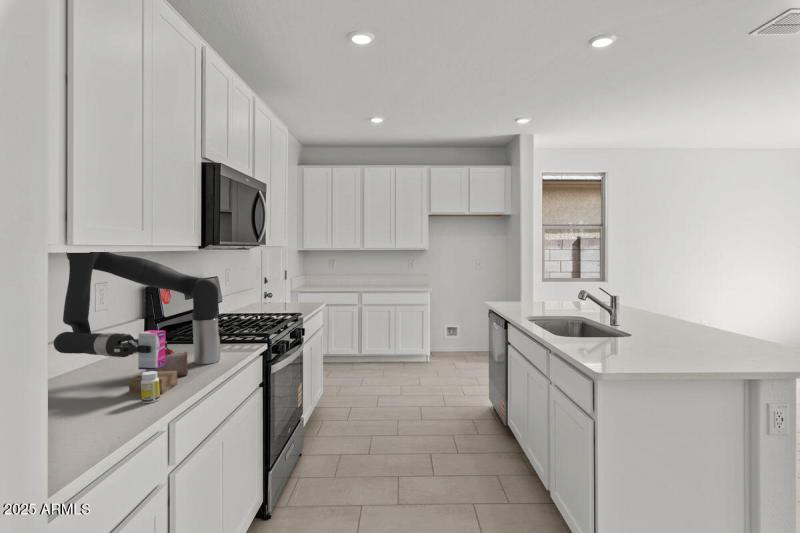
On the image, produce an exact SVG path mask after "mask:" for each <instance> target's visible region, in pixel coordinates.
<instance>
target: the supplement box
mask: <svg viewBox="0 0 800 533" xmlns="http://www.w3.org/2000/svg"><path fill="white" fill-rule="evenodd" d="M138 339H139V344H138V345H139V346H140V345H145V346H151V352H150V353H138V354H137V355H138V356H137V357H138V363H137V364H138V366H137V367H138V368H137V369H138V370H146V369H157V368H159V367H161V366H164V365H165V349H166V348H165V341H166V330H151V329H149V330H146V331H145V330H144V331H142V332H139V333H138Z"/></svg>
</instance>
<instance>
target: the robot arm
mask: <svg viewBox="0 0 800 533" xmlns="http://www.w3.org/2000/svg"><path fill="white" fill-rule="evenodd" d="M66 257H67V260H68V265H69V266H68V267H69V271H68V272H69V273H68V283H67V287H66V288H67V289H66V294H65V300H64V306H63V315H62V322H63V323H64V324H65V325H67V326H69V327H71V329H72V331H64V332H60V333H59V334H58V335H57V336H56V337H55V338H54V340H53V347H54V349H55V351H57V352H58V353H61V354H86V355H93V356H94V355H95V356H104V357H110V358H111V357H113V358H115V357H116V358H126V357H129V356H131V355H133V354H137V355H138V353H150V352H151V346H145V345H140V346H139V345H138V344H139V338H134V337H133V336H132V334H130V333H120V332H119V333H117V332H108V333H101V332H97V333H96V332H94V333H92V332H91V331H92V330H91V325H90V322H89V321H90V320H89V316H90V315H89V314H90V307H91V306H90V305H91V284H92V275H93V270H95V271H100V272H104V273H107V274H111V275H114V276H117V277H119V278H123V279H125V280H129V281H130V282H131V281H132V282H134V283H137V284H140V285H144V286H148V287H152V288H156V289H159V290H160V289H161V290H168V291H174V292H178V293H180V294H183V295H185V296H188V297H190V298H192V307H193V308H192V335H193V338H192V340H193V360H194V361H193V363H194V364H195V365H211V364H214V363H218V362H220V360H221V338H220V337H221V336H220V335H219V306H220V305H219V289H218V285H217V283H216V282H215V281H213V280H211V279H209V278H202V277H199V276H198V277H197V276H192V275H189V274H185V273H181V272H179V271H177V270H176V269H173V268H170V267H168V266H166V265H164V264H162V263H159V262H155V261H153V260H150V259H146V258H143V257H137V256H130V255H128V256H127V255H122V254H121V255H120V254H116V253H112V252H109V251H107V252H90V253H67V252H66ZM167 348H168V341H167V340H165V349H167Z"/></svg>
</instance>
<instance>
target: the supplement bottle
mask: <svg viewBox="0 0 800 533" xmlns="http://www.w3.org/2000/svg"><path fill="white" fill-rule="evenodd" d="M141 374H142V379H143V380H142V381H141V395H140V397H141V403H142V404H152V403H156V402H158V401H159V400H160V398H161V395H160V390H159V378H157V372H156V371H149V372H146V371H144V372H142V373H141Z"/></svg>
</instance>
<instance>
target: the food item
mask: <svg viewBox="0 0 800 533" xmlns="http://www.w3.org/2000/svg"><path fill="white" fill-rule="evenodd" d="M188 364H189V363H188V351H185V350H181V351H180V350H179V351H173V349H171V348H169V347H167V348H165V365H164V366H161V367H159V368H157V369H145V372H147V371H177V378H179V377H185V376H188V374H189V366H188Z"/></svg>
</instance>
